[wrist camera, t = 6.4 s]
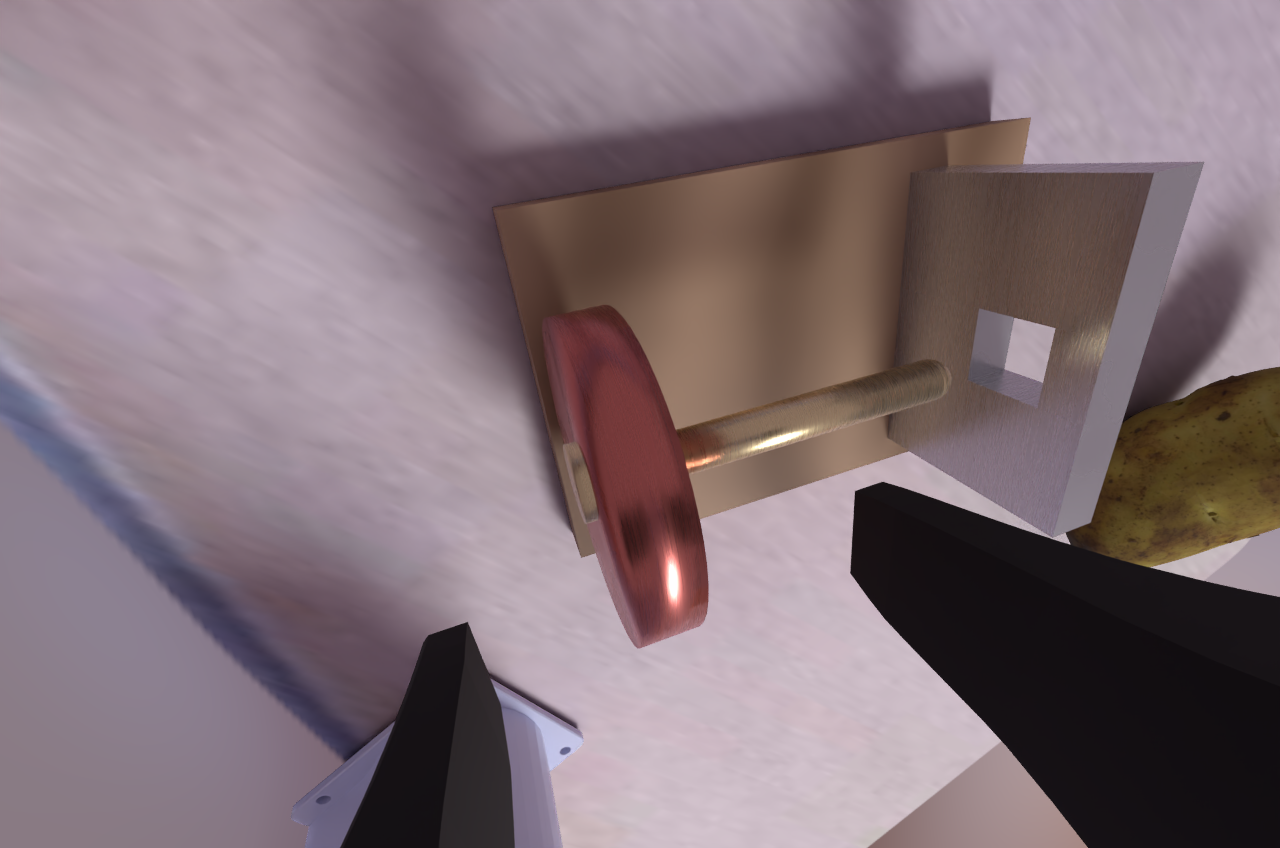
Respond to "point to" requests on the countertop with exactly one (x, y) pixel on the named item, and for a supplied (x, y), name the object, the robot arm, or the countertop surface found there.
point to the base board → (742, 289)
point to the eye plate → (1034, 320)
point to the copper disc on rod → (675, 457)
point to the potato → (1191, 474)
